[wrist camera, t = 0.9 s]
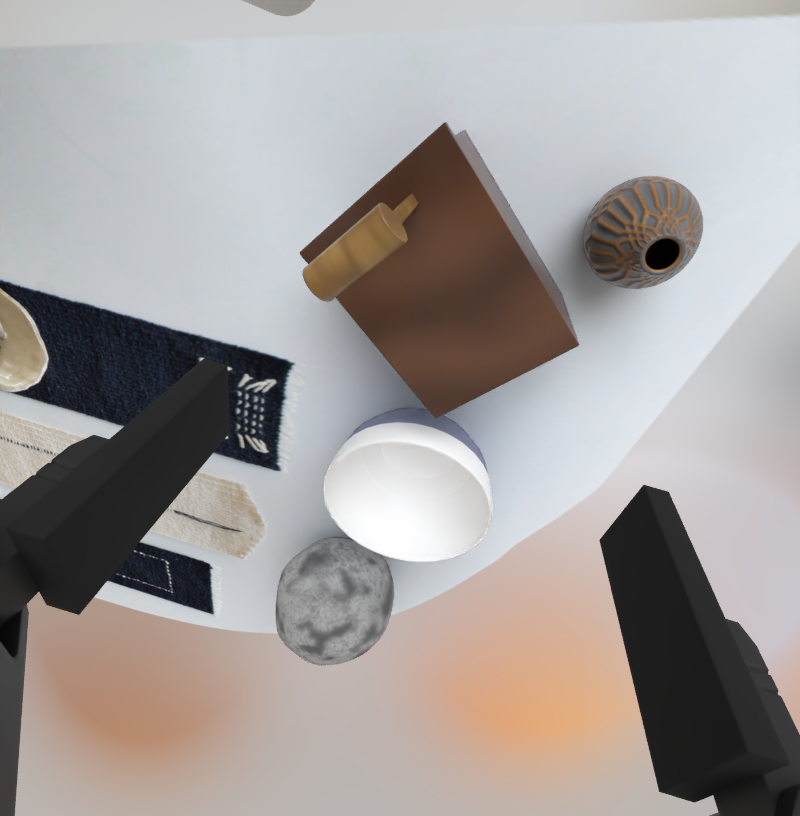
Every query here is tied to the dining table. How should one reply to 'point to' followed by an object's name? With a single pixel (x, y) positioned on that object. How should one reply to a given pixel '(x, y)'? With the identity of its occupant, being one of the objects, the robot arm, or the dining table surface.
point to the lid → (438, 279)
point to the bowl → (410, 487)
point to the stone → (334, 601)
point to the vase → (643, 232)
